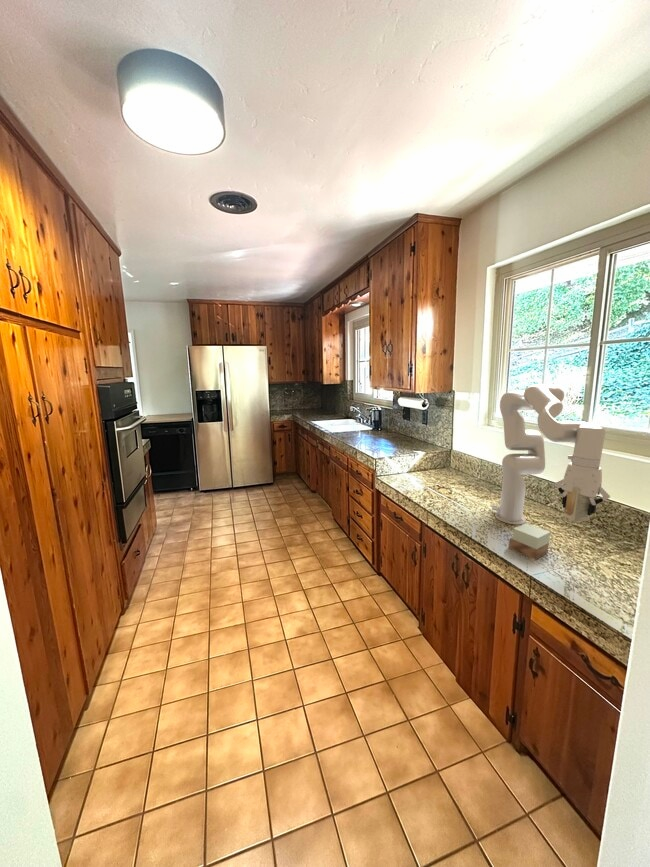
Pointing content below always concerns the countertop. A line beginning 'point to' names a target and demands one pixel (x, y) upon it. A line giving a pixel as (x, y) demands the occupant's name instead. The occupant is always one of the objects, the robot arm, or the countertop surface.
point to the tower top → (531, 536)
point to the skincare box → (577, 506)
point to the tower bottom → (527, 549)
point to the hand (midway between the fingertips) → (577, 510)
